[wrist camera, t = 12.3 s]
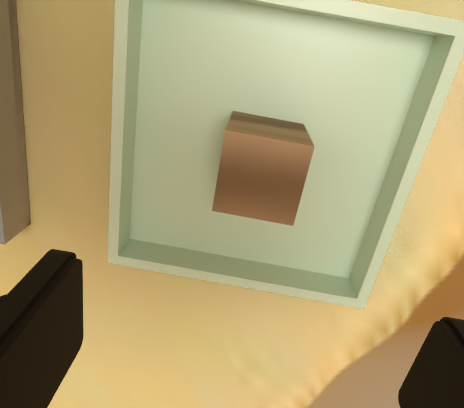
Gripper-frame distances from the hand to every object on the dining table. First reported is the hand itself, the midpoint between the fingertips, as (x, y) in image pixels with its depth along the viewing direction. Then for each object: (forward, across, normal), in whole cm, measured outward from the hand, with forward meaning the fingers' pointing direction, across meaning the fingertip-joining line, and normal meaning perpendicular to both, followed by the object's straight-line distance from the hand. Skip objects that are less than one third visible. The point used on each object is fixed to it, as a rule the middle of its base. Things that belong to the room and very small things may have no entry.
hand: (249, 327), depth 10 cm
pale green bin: (+19, 0, +1) cm, 19 cm away
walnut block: (+19, -1, +1) cm, 19 cm away
